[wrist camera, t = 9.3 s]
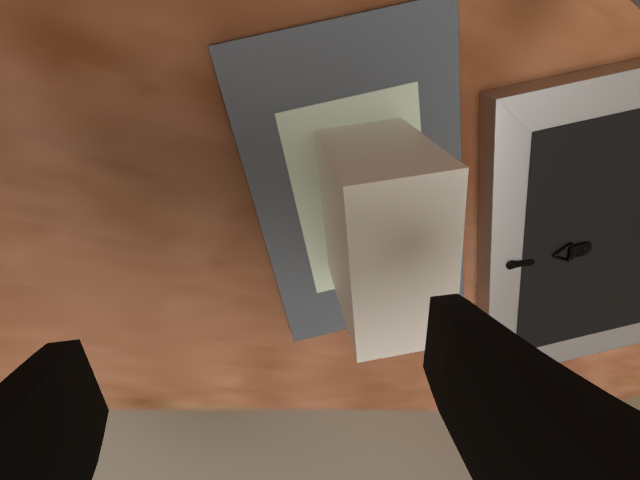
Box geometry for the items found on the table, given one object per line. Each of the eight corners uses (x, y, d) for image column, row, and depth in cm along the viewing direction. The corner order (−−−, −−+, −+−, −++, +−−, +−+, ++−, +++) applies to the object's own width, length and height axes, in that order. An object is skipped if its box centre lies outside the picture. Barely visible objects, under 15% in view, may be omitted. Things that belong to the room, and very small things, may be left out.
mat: (209, 44, 15) (207, 46, 15) (451, -8, 16) (459, -9, 15) (293, 333, 22) (294, 342, 22) (459, 293, 23) (464, 301, 22)
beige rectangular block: (328, 268, 20) (357, 362, 15) (313, 129, 17) (342, 186, 11) (402, 256, 20) (455, 344, 15) (401, 117, 17) (468, 167, 12)
